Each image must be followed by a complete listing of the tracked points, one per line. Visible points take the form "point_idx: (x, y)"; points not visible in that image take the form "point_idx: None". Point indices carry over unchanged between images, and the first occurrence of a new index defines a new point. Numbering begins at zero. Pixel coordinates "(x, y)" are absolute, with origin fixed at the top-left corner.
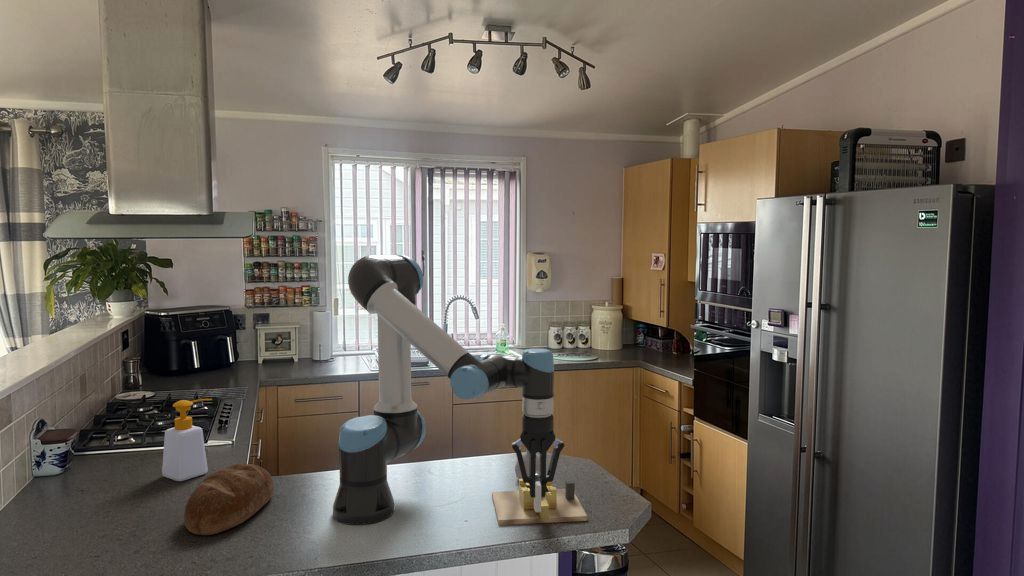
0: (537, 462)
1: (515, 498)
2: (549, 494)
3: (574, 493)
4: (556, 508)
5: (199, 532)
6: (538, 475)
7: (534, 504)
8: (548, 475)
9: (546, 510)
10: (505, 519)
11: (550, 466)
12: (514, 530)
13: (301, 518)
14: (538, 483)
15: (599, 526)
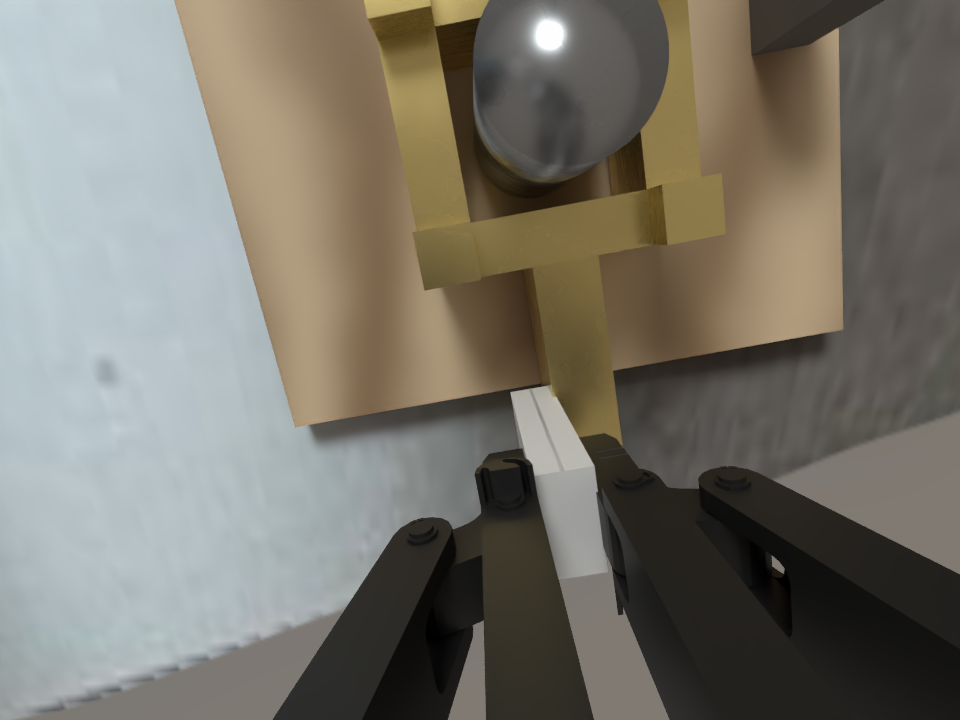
0: None
1: (361, 52)
2: (644, 245)
3: (844, 22)
4: None
5: None
6: (580, 126)
7: (519, 440)
8: (729, 548)
9: None
10: (336, 417)
11: (840, 656)
12: (402, 474)
13: None
14: (580, 523)
15: (873, 393)
